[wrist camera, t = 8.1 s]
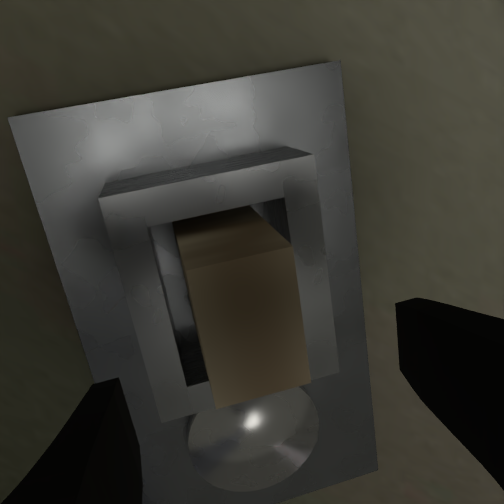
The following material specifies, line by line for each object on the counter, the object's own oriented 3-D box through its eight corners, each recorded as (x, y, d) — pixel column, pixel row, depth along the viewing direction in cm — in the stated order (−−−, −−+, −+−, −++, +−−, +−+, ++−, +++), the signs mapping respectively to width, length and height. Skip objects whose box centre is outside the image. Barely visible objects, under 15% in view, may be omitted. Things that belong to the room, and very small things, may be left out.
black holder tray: (147, 527, 23) (149, 607, 20) (14, 116, 17) (-21, 120, 13) (369, 456, 25) (409, 517, 22) (330, 62, 19) (378, 52, 15)
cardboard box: (194, 321, 20) (216, 409, 14) (171, 218, 18) (186, 270, 12) (263, 304, 20) (311, 382, 14) (246, 202, 18) (292, 246, 13)
